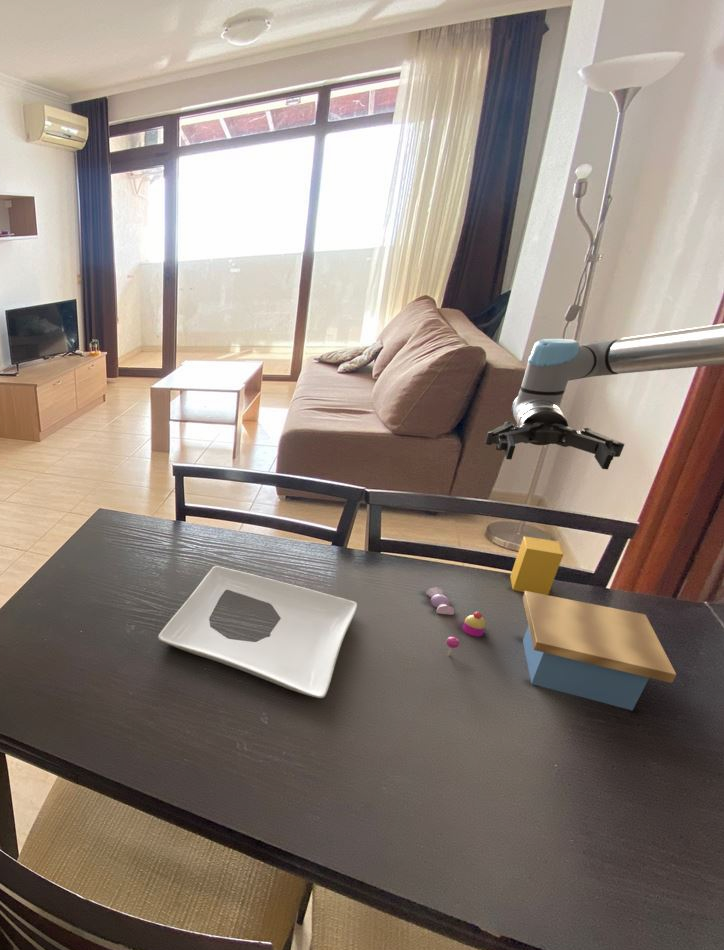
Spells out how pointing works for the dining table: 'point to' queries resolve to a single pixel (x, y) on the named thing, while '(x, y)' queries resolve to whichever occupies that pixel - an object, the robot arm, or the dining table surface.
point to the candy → (472, 623)
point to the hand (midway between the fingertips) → (557, 457)
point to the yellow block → (536, 565)
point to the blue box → (583, 678)
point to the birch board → (596, 635)
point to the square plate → (291, 641)
